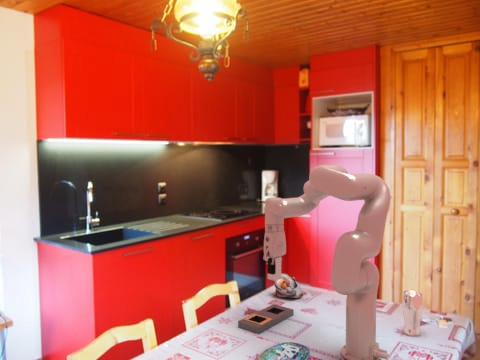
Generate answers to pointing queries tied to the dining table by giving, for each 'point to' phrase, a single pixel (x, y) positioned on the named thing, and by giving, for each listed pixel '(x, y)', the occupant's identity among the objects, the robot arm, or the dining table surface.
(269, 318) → the hole rail
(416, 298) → the beer glass
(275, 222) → the robot arm
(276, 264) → the steel peg
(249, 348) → the dining table surface
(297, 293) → the lucky cat figurine
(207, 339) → the dining table surface
